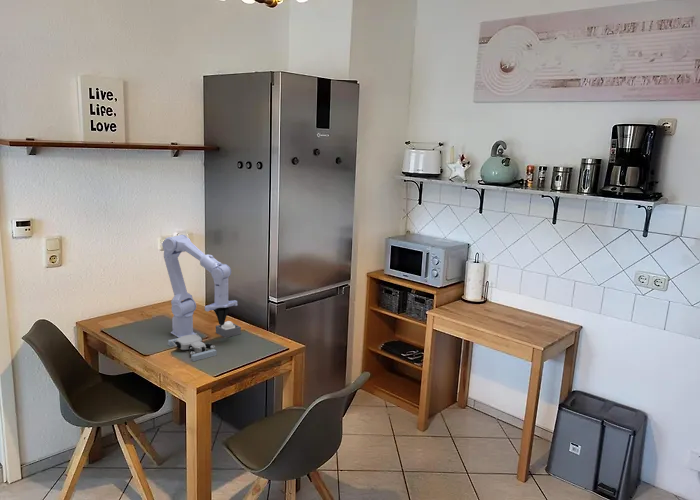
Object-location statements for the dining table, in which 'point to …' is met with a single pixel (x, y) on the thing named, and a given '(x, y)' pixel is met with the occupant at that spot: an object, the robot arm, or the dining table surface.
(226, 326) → the dome button
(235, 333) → the dome collar
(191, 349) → the robot toy
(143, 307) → the dining table surface
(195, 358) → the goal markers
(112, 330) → the dining table surface
